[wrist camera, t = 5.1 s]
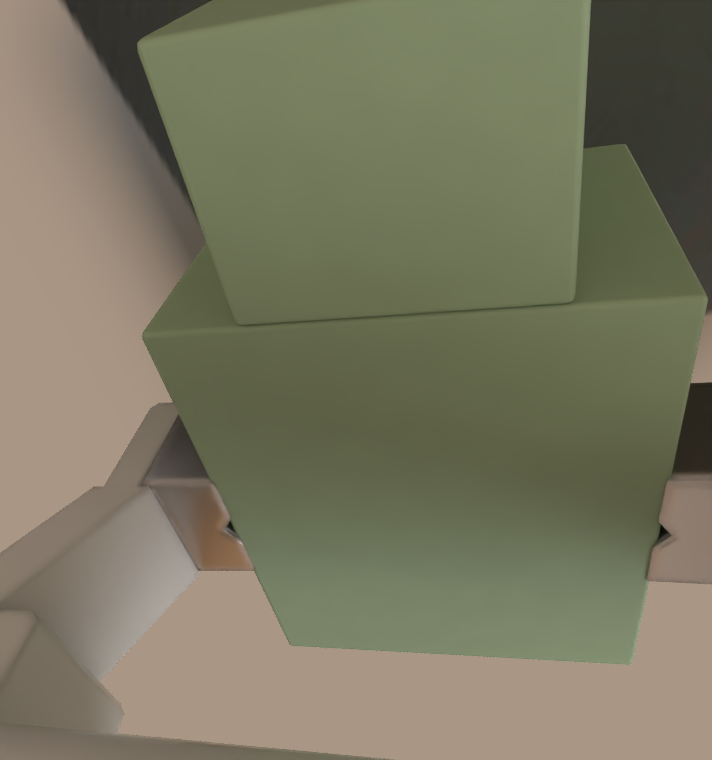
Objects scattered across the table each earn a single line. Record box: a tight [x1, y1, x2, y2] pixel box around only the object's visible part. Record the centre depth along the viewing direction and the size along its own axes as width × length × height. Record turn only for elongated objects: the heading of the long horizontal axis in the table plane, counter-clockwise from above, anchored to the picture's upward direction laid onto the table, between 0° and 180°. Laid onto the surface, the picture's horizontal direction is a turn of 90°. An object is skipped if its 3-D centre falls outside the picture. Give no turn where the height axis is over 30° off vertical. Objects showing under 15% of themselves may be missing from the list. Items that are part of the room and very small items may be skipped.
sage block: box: [137, 0, 708, 665], centre depth 8 cm, size 5×8×4 cm, turn 10°
